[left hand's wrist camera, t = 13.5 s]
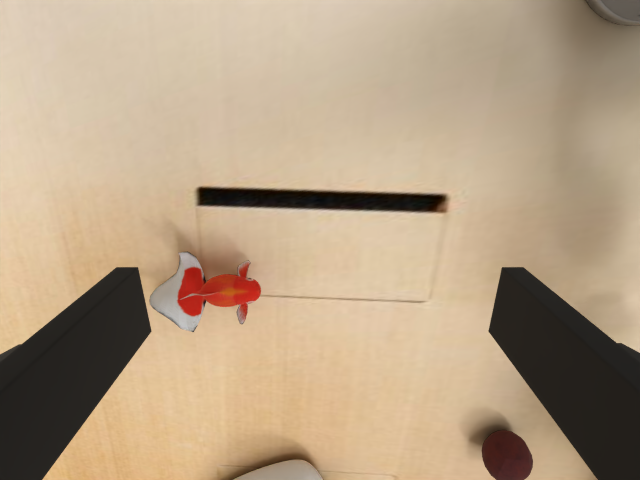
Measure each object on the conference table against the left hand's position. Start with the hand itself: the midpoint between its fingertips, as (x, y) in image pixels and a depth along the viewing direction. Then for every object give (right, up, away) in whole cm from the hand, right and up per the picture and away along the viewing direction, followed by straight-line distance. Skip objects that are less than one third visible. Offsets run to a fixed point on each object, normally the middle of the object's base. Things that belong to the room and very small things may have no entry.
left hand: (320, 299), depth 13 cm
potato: (+30, -31, +47) cm, 64 cm away
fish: (-15, -3, +36) cm, 39 cm away
